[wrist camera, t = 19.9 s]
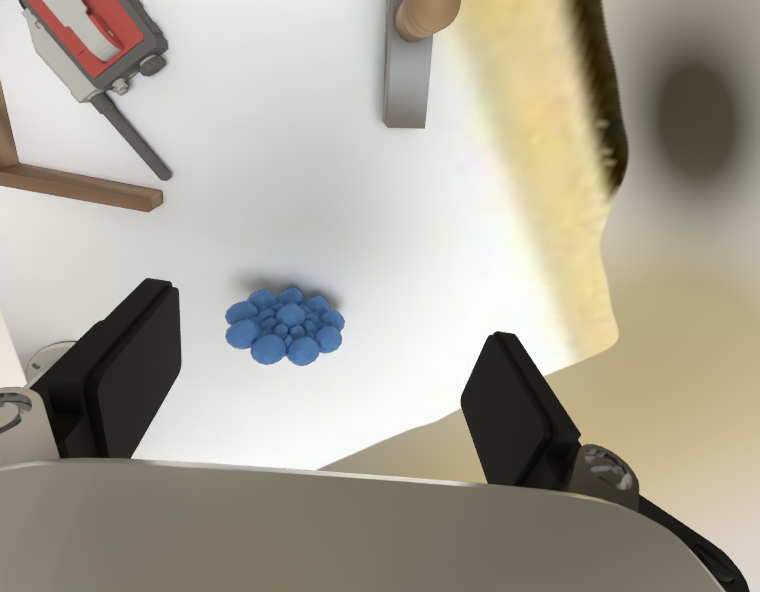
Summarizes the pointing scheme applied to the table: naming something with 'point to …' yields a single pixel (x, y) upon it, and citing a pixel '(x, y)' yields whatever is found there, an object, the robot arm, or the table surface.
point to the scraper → (411, 57)
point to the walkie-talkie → (99, 53)
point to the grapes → (284, 326)
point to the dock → (67, 178)
